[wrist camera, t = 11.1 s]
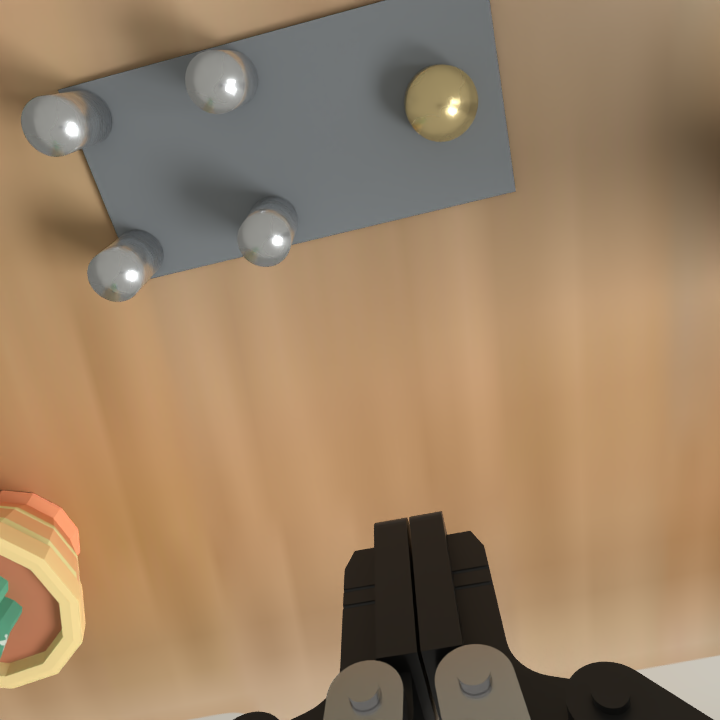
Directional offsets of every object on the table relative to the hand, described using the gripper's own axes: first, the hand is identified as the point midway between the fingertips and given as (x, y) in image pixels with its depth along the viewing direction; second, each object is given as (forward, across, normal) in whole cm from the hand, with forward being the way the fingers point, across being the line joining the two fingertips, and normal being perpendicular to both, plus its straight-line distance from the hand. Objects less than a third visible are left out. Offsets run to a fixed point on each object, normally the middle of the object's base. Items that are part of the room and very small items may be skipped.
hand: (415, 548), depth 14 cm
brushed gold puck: (+30, -5, -6) cm, 31 cm away
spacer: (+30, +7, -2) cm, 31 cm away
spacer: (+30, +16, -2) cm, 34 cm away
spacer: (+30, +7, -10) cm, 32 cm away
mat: (+30, +4, -6) cm, 31 cm away
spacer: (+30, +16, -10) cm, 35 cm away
